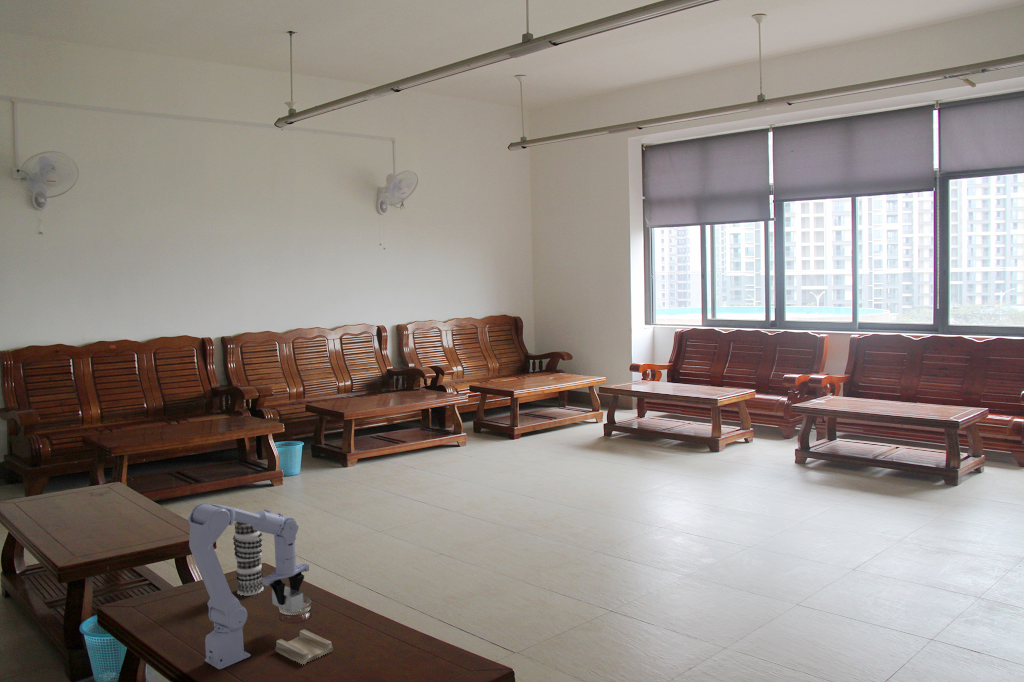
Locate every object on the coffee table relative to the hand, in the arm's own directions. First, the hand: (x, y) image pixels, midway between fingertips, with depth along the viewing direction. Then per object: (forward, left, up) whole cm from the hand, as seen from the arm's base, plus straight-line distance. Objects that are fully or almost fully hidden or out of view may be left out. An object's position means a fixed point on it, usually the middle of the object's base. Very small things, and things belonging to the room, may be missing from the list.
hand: (287, 601), depth 231 cm
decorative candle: (+9, +36, -9) cm, 39 cm away
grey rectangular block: (0, 0, -1) cm, 1 cm away
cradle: (-5, -15, -9) cm, 18 cm away
